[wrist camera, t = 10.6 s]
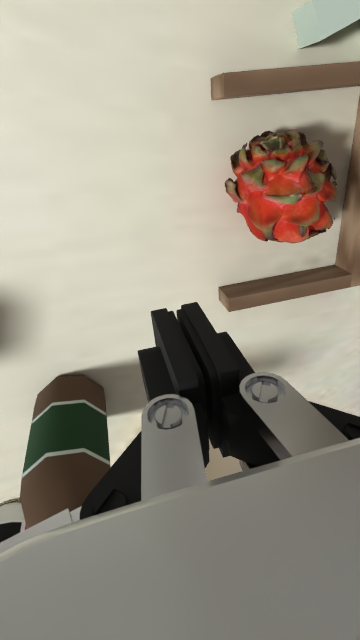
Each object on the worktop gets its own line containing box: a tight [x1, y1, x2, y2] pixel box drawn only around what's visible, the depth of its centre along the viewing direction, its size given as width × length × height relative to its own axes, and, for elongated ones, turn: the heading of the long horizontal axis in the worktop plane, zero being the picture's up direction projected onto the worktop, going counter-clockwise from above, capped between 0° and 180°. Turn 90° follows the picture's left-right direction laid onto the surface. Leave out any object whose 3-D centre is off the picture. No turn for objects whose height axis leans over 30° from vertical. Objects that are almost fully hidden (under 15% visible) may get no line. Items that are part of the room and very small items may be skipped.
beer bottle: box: [20, 375, 110, 529], centre depth 29 cm, size 8×8×24 cm
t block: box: [292, 0, 360, 49], centre depth 26 cm, size 8×8×3 cm
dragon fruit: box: [225, 130, 337, 243], centre depth 30 cm, size 8×8×12 cm
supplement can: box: [0, 502, 27, 543], centre depth 40 cm, size 8×8×15 cm
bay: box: [211, 61, 360, 312], centre depth 33 cm, size 20×16×3 cm
